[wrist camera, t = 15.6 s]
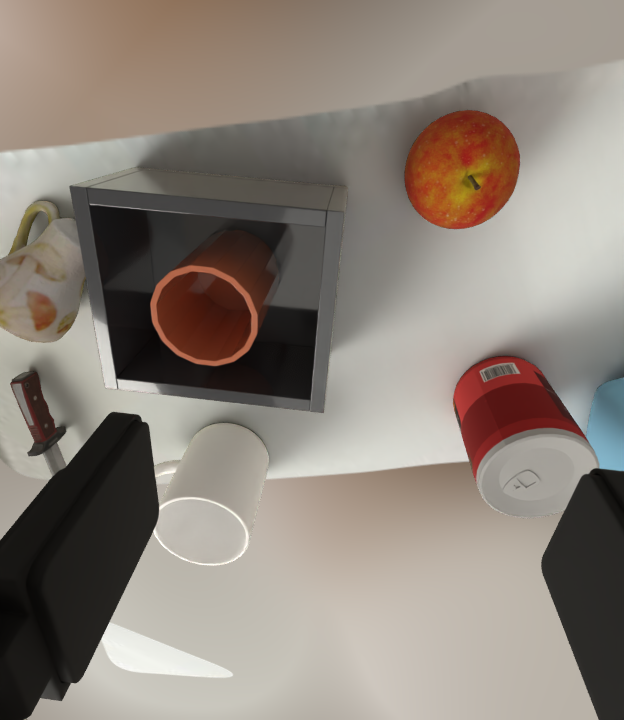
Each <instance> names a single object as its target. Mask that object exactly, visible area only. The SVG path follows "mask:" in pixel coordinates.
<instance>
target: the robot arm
mask: <svg viewBox="0 0 624 720" xmlns="http://www.w3.org/2000/svg"><path fill="white" fill-rule="evenodd" d="M158 517H159V502H158V495H157V487H156V479H155V471H154V463H153V455H152V447H151V439H150V431H149V426H148V424H147V423H146V422H142V420H141V417H140V416H139V415H136V414H127V413H118V412H112V413H110V414H109V415H108V416H107V417H106V418H105V419H104V421H103V422H102V423H101V424H100V426H99V427H98V428H97V429H96V431H95V432H94V433H93V434H92V435H91V437H90V438H89V439H88V440H87V442H86V443H85V444H84V445H83V447H82V448H81V449H80V450H79V452H78V453H77V454H76V455H75V457H74V458H73V459H72V460H71V462H70V463H69V464H68V465H67V466H66V468H63V469H61V470H59V471H58V472H57V473H56V474H55V475H54V476H53V477H52V478H51V479H50V480H49V482H48V483H47V484H46V486H45V487H44V488H43V489H42V490H41V491H40V493H39V494H38V495H37V497H36V498H35V499H34V500H33V501H32V502H31V504H30V505H29V506H28V507H27V509H26V510H25V511H24V512H23V513H22V515H21V516H20V517H19V518H18V520H17V521H16V522H15V523H14V525H13V526H12V527H11V528H10V529H9V531H8V532H7V533H6V534H5V535H4V536H3V538H2V539H1V540H0V720H27V718H28V717H29V716H30V715H31V714H32V712H33V710H34V708H35V706H36V705H37V703H38V701H39V699H40V698H44V699H51V700H58V701H62V699H63V698H64V696H65V694H66V692H67V690H68V688H69V686H70V684H71V683H77V682H79V681H80V679H81V678H82V677H83V675H84V673H85V671H86V669H87V667H88V665H89V663H90V660H91V659H92V657H93V655H94V652H95V650H96V648H97V646H98V644H99V642H100V640H101V638H102V636H103V634H104V632H105V630H106V628H107V626H108V624H109V622H110V619H111V617H112V615H113V613H114V611H115V609H116V607H117V605H118V603H119V601H120V599H121V596H122V595H123V593H124V590H125V588H126V586H127V584H128V582H129V580H130V578H131V576H132V574H133V572H134V570H135V568H136V566H137V564H138V562H139V559H140V557H141V555H142V553H143V551H144V549H145V547H146V545H147V543H148V541H149V539H150V537H151V535H152V533H153V530H154V528H155V526H156V524H157V521H158ZM541 563H542V565H541V567H542V573H543V576H544V579H545V581H546V584H547V586H548V589H549V592H550V594H551V597H552V599H553V602H554V605H555V607H556V610H557V612H558V615H559V618H560V620H561V623H562V625H563V628H564V630H565V633H566V636H567V638H568V641H569V644H570V646H571V649H572V651H573V654H574V657H575V659H576V662H577V664H578V667H579V670H580V672H581V675H582V677H583V680H584V682H585V685H586V688H587V690H588V693H589V695H590V697H591V701H592V703H593V706H594V708H595V711H596V714H597V716H598V719H599V720H624V471H618V470H609V469H600V468H594V469H593V470H591V471H590V473H589V474H584V475H582V477H581V478H580V480H579V482H578V484H577V486H576V488H575V490H574V492H573V495H572V497H571V499H570V501H569V503H568V505H567V507H566V509H565V511H564V514H563V515H562V517H561V519H560V521H559V523H558V526H557V528H556V530H555V532H554V534H553V536H552V538H551V540H550V542H549V544H548V547H547V548H546V550H545V552H544V555H543V557H542V562H541Z"/></svg>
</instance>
